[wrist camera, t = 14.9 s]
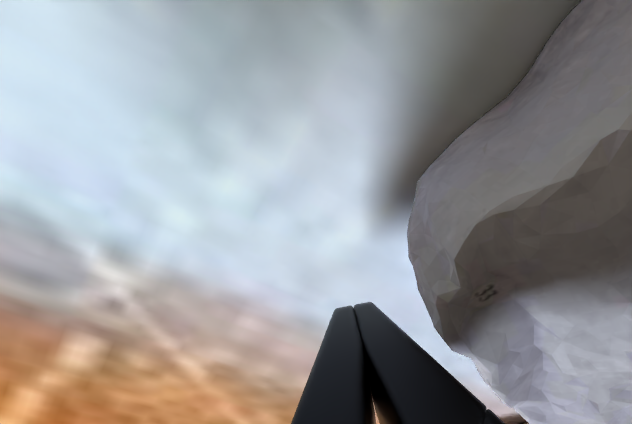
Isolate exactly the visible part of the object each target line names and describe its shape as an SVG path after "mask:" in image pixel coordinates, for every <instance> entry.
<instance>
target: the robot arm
mask: <svg viewBox="0 0 632 424" xmlns="http://www.w3.org/2000/svg"><path fill="white" fill-rule="evenodd" d="M372 399H373V400H372ZM373 402H374V405H373ZM374 406H375V410H376V413H377V417H378V420H379V423H380V424H505V423H504V422H503V421H502V420H500V419H499V418H498V417H497V416H496V415H495V414H494V413H493V412H492V411H491V410H489V409H488V410H486V406H485V405H484V404H483V403H482V402H481V401H479V400H478V399H477V398H476V397H475V396H474V395H473V394H472V393H471V392H470V391H468V390H467V389H466V388H465V387H464V386H463V385H462V384H461V383H460V382H459V381H457V380H456V379H455V378H454V377H453V376H452V375H451V374H450V373H449V372H448V371H447V370H445V369H444V368H443V367H442V366H441V365H440V364H439V363H438V362H437V361H436V360H434V359H433V358H432V357H431V356H430V355H429V354H428V353H427V352H426V351H425V350H423V349H422V348H421V347H420V346H419V345H418V344H417V343H416V342H415V341H414V340H412V339H411V338H410V337H409V336H408V335H407V334H406V333H405V332H404V331H403V330H402V329H400V328H399V327H398V326H397V325H396V324H395V323H394V322H393V321H392V320H391V319H389V318H388V317H387V316H386V315H385V314H384V313H383V312H382V311H381V310H380V309H378V308H377V307H376V306H375V305H374V304H373V303H371V302H367V303H362V304H357V305H355V306H354V308H353V307H352V306H346V307H341V308H337V309H335V310H334V313H333V315H332V318H331V320H330V323H329V326H328V328H327V331H326V333H325V336H324V339H323V341H322V344H321V347H320V349H319V352H318V354H317V357H316V360H315V362H314V365H313V368H312V370H311V373H310V375H309V378H308V381H307V383H306V386H305V388H304V391H303V394H302V396H301V399H300V402H299V404H298V407H297V409H296V412H295V415H294V417H293V420H292V422H291V424H376V419H375V411H374Z"/></svg>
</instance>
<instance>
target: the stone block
mask: <svg viewBox="0 0 632 424" xmlns="http://www.w3.org/2000/svg"><path fill="white" fill-rule="evenodd" d="M407 238H408V253H409V259H410V261H411V263H412V265H413V269H414V272H415V276H416V280H417V286H418V290H419V293H420V295H421V297H422V299H423V301H424V303H425V305H426V308H427V310H428V312H429V315H430V317H431V319H432V322H433V325H434V328H435V329H436V330H437V332H438V333H439V334H440V336H441V337H442V338H443V340H444V341H445V342H446V344H447V345H448V346H449V347H450V348H451V350H452V351H455V352H457V353H459V354H462V355H464V356H466V357H469V358H471V359H472V360H473V362H474V363H475V365H476V367H477V370H478V372H479V374H480V375H481V377H482V378H483V380H484V382H486V383H487V384H488V385H489V386H490V387H491V389H492V390H493V391H494V392H495V394H496V395H497V396H498V397H499V399H500V400H501V401H502V402H503V403H504V404H506V405H507V406H508V407H510V408H514V410H515V411H516V412H517V413H518V414H520V415H521V416H522V417H523V418H524V419H525V420H526V421H527V422H528V423H529V424H632V0H582V1H581V2H580V3H579V4H578V5H577V6H576V7H575V8H573V10H572V11H571V12H570V13H569V14H568V15H567V16H566V17H565V19H564V20H563V21H562V22H561V23H560V25H559V26H558V27H557V29H556V30H555V32H554V33H553V34H552V36H551V37H550V38H549V40H548V41H547V43H546V45H545V46H544V48H543V50H542V51H541V53H540V54H539V56H538V58H537V59H536V61H535V62H534V64H533V66H532V67H531V69H530V71H529V72H528V73H527V75H526V76H525V77H524V78H523V79H522V80H521V82H520V83H519V84H518V85H517V86H516V88H515V89H514V90H513V91H512V92H511V93H510V95H509V96H508V97H506V98H505V99H504V100H503V101H501V102H500V103H499V104H497V105H496V106H495V107H494V108H492V109H491V110H490V111H489V112H487V113H486V114H485V115H484V116H482V117H481V118H480V119H479V120H477V121H476V122H475V123H474V124H473V125H471V126H470V127H469V128H468V129H467V130H465V131H464V132H463V133H462V134H461V135H460V136H459V137H457V138H456V139H455V140H454V141H453V142H452V143H451V144H450V145H449V147H448V148H447V149H446V150H445V151H444V152H443V153H442V154H441V155H440V156H439V157H438V158H437V159H436V160H435V161H434V162H433V163H432V164H431V165H430V166H429V167H428V168H427V170H426V171H425V172H424V174H423V175H422V176H421V178H420V179H419V180H418V182H417V186H416V194H415V199H414V203H413V207H412V211H411V214H410V218H409V223H408V232H407Z"/></svg>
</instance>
